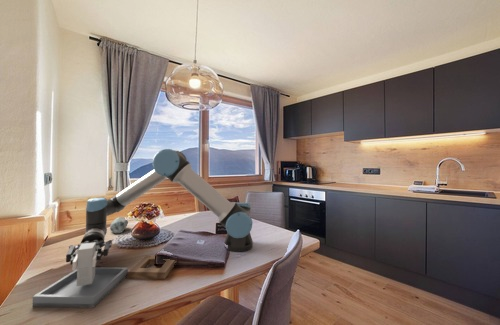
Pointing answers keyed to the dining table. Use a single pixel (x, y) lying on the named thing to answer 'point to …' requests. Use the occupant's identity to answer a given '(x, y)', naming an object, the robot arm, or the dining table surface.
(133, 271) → the socket block
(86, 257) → the skincare box
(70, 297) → the parts tray
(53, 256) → the dining table surface
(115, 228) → the grey-green mottled ovoid
